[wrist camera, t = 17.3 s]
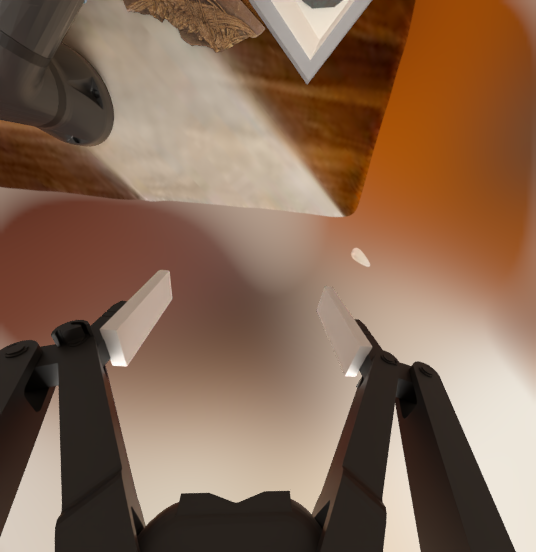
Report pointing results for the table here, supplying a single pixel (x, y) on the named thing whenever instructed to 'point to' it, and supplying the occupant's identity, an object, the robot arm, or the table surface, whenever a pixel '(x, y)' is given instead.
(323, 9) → the pedestal
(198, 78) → the table surface
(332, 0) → the bottle
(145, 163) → the table surface
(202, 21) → the wooden fragment
